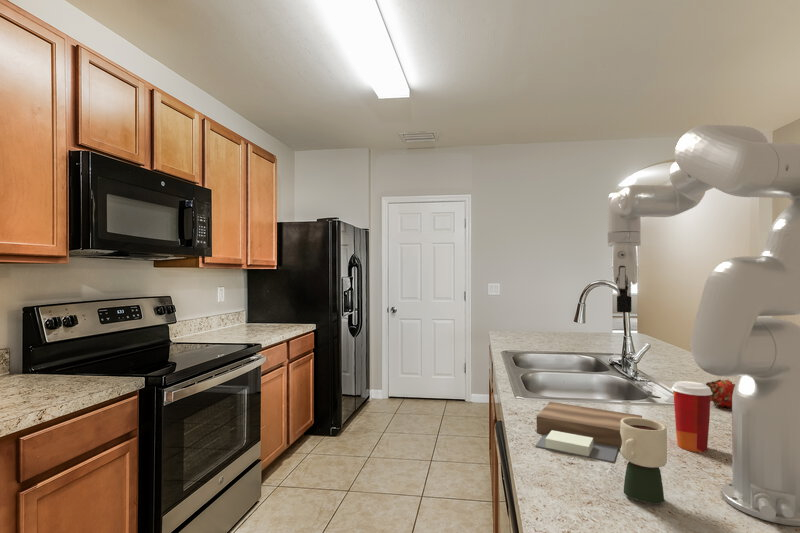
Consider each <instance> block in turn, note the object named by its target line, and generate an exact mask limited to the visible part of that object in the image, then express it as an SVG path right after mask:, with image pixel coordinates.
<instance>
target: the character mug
mask: <svg viewBox="0 0 800 533" xmlns="http://www.w3.org/2000/svg"><path fill="white" fill-rule="evenodd" d="M667 430H668V428H667V425H665V424H664V423H663V422H659V421H657V420H654V419H649V418H645V417H642V418H637V417H629V418H623V419H621V429H620V434H621V438H622V445H621V448H619V451H620V454H621V456H622V458H623V459H624V460H626V461H627V464H626V468H625V469H626V470H625V476H624V484H623V494H624V495H625V496H626V497H628V498H631V499H634V500H637V501H638V502H644V503H648V504H652V505H653V504H657V505H659V504H662V503H664V502H665V495H664V486H663V479H662V478H663V477H662V472H661V469H660V468H663V467H665V466H666V465H667V462H668V431H667Z"/></svg>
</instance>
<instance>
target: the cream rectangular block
mask: <svg viewBox="0 0 800 533" xmlns="http://www.w3.org/2000/svg"><path fill="white" fill-rule="evenodd" d="M545 447H546V448H550V449H555V450H560V451H565V452H570V453H575V454H580V455H584V456H589V455H590V453H591V451H592V449H593V438H591V437H586V436H581V435H575V434H570V433H564V432H559V431H553V430H552V431H551V432H550V433H549V434H548V436H547V437H546V438H545Z"/></svg>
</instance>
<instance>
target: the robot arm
mask: <svg viewBox="0 0 800 533" xmlns="http://www.w3.org/2000/svg"><path fill="white" fill-rule="evenodd" d="M673 154H674V162H673V163H672V164H671V166H670V168H669V173H668V174H669V180H670V182H671V184H669V185H663V184H662V185H661V184H630V185H628V186H625V187H623V188H622V189H621V190H619V191H614V192H610V194H609V195H608V196H607V247H612V276H613V277H612V278H613V280H612V281H613V284H615V285H616V286H617V288H616V290H617V296H616V312H617V313H629V314H630V313H632V311H633V310H632V296H631V295H632V294H631V293H632V291H631V289H632V288H631V286H632V285H636V284H637V283H638V256H637V247H638V246H641V243H642V242H641V240H642V239H641V238H642V237H641V232H642V231H641V228H642V227H641V224H642V223H641V218H669V217H674V216H675V217H676V216H678V215H681V214H683V213H685V212H687V211H689V210H692V209H693V208H696V207H698V205H699V203H701V201H702V200H703V198H704V196H705V194H706V192H707V191H709V190H711V189H713V188H714V189H716V190H718V191H721V192H722V193H724V194H727V195H730V196H733V197H734V196H735V197H740V198H764V199H765V198H771V199H772V198H773V199H775V198H776V199H780V198H781V199H782V198H786V199H789V200H791V203H789V205H788V206H787V207H785V208H784V210H782V211H781V212H780V214H778V216H777V217H776V219H775V220H774V222H772V224H771V226H770V228H769V231H768V234H767V237H766V238H767V239H766V241H765V243H764V247H763V249H762V251H761V253H760V254H759V255H757V256H752V255H751V256H745V255H744V256H735V257H730V258H727V259H725V260H723V261H721V262H720V263H718V264H717V265H716V266H715V267H714V268H713V269H712V271H711V272H710V273H709V274H708V277H707V279H706V280H705V284H704V287H703V289H702V294H701V298H700V301H699V306H698V308H697V313H696V316H695V319H694V324H693V327H692V331H691V336H690V351H691V355H692V357H693V360H694V362H695V363H696V365H697V366H698V367H699V368H700V369H701V370H702V371H703V372H705V373H708V374H710V375H712V376H718V377H738V378H737V380H736V382H735V383H734V384H735V387H734V390H733V395H732V407H731V428H732V429H731V432H732V434H731V437H732V439H731V443H732V444H731V445H732V450H731V451H732V452H731V453H732V455H731V456H732V457H731V458H732V461H731V462H732V464H731V465H732V466H731V467H732V469H731V470H732V481H731V482H727V483H724V484H723V485H722V487H721V496H722V498H723V499H724V500H725V502H727V504H729V505H730V506H731V507H733V508H735V509H737V510H739V511H741V512H742V513H745V514H747V515H750V516H751V517H753V518H758V519H760V520H764V521H767V522H771V523H776V524H780V525H784V526H793V527H800V326H799V325H797V324H796V323H794V322H792V321H790V320H787V319H782V318H776V317H778V316H779V317H782V316H783V317H784V316H795V315H800V143H790V142H789V143H788V142H787V143H786V142H785V143H783V142H769V141H768V139H767V137H766V135H764V133H762V131H760V130H759V129H756V128H754V127H751V126H746V125H725V124H723V125H722V124H701V125H697V126H695V127H692V128H691V129H689V130H687V131H686V132H685V133H684V134H683V135H681V137H680V138H679V140H678V141H677V144H676V146H675V148H674V153H673ZM765 316H766V317H765ZM772 316H773V317H772ZM774 316H775V317H774Z"/></svg>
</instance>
